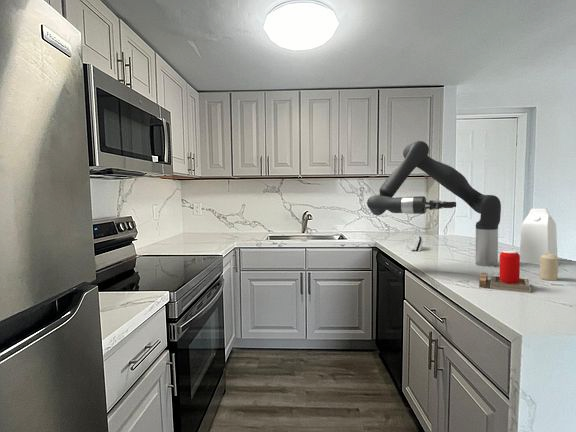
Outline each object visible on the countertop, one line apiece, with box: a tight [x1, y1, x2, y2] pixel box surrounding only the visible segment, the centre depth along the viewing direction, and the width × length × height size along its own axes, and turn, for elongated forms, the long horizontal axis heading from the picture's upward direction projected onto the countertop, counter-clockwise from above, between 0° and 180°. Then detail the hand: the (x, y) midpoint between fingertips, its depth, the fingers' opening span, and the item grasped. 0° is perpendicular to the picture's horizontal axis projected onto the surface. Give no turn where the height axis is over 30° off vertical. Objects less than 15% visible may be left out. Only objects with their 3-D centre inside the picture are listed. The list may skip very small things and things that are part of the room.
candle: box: [539, 253, 559, 281], centre depth 134 cm, size 6×6×10 cm
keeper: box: [489, 275, 532, 294], centre depth 125 cm, size 12×12×2 cm
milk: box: [519, 208, 558, 266], centre depth 164 cm, size 12×12×26 cm
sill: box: [478, 272, 488, 289], centre depth 131 cm, size 14×2×2 cm, turn 148°
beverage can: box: [498, 250, 521, 284], centre depth 125 cm, size 6×6×12 cm
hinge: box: [406, 234, 424, 252], centre depth 212 cm, size 17×5×10 cm, turn 169°
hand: (454, 204), depth 140 cm, fingers open, 8 cm apart
